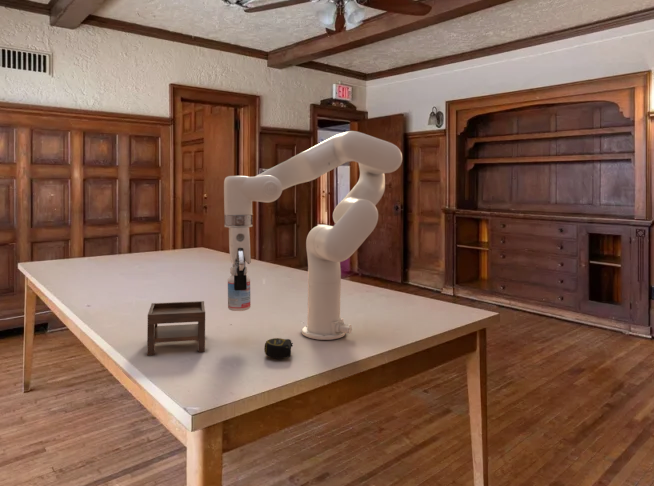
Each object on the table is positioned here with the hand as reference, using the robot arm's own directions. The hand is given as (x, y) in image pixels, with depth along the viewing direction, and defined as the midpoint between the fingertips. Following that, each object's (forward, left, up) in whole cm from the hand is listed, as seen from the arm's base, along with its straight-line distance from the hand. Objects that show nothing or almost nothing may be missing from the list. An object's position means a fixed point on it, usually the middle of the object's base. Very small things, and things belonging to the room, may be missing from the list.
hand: (239, 286), depth 126 cm
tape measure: (-16, +2, -15) cm, 22 cm away
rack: (+11, +11, -15) cm, 22 cm away
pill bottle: (0, 0, -6) cm, 6 cm away
